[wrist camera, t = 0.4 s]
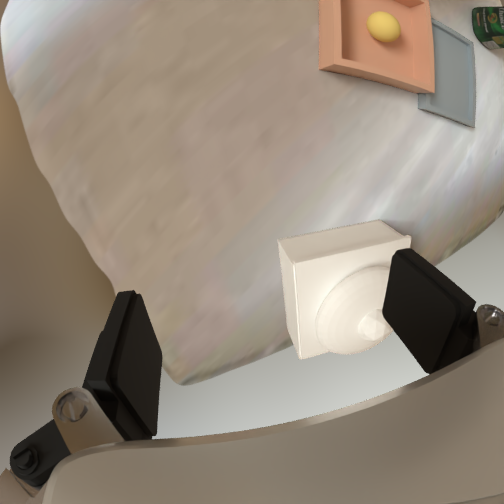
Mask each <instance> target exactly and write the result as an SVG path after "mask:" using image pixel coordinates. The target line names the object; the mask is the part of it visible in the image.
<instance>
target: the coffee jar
mask: <svg viewBox="0 0 504 504" xmlns="http://www.w3.org/2000/svg"><path fill="white" fill-rule="evenodd" d="M472 23H473V30H474V33H475V35H476V36H477V38H478V39H479V41H480V42H481V43H482V44H483V45H484V46H486V47H487V48H489V49H499V48H504V7H477V8H474V9H473V11H472Z"/></svg>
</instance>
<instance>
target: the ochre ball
mask: <svg viewBox="0 0 504 504" xmlns="http://www.w3.org/2000/svg"><path fill="white" fill-rule="evenodd" d="M366 26H367V29H368V31H369V33H370V34H371V35H372V36H373V37H374V38H375V39H377V40H379V41H382V42H392V41H394V40H396V39H397V38H398V37H399V35H400V33H401V27H400V24H399V22H398V20H397V19H396V18H395V17H394V16H393V15H391V14H389V13H387V12H382V11H378V12H374V13H372V14H371V15H370V16H369V17H368V19H367V22H366Z"/></svg>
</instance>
